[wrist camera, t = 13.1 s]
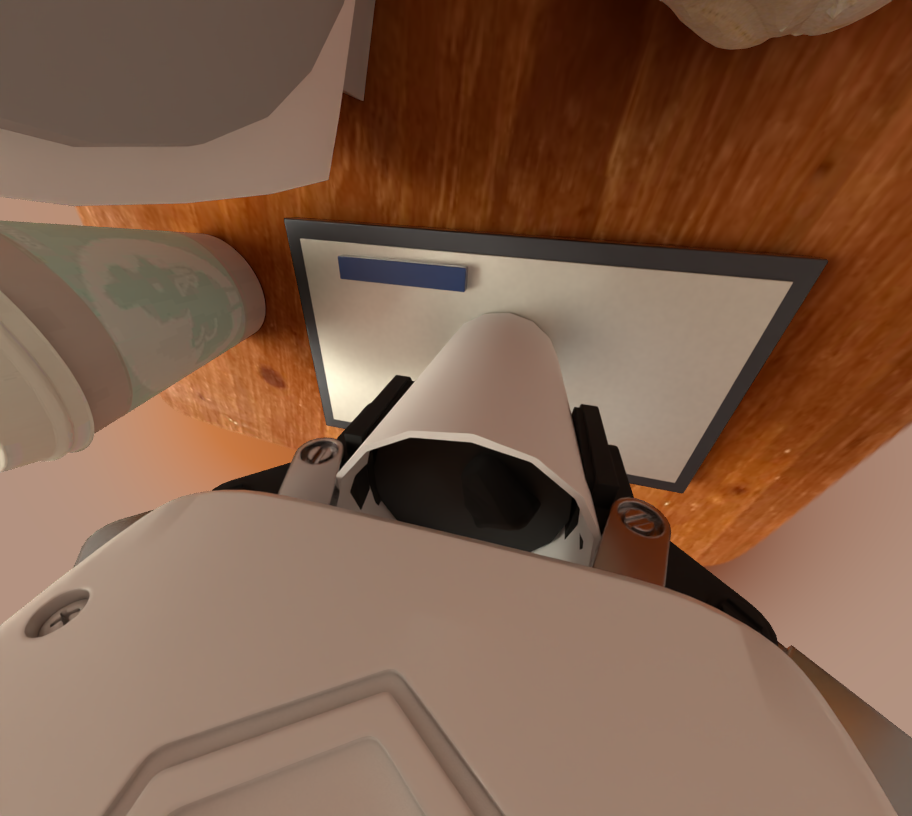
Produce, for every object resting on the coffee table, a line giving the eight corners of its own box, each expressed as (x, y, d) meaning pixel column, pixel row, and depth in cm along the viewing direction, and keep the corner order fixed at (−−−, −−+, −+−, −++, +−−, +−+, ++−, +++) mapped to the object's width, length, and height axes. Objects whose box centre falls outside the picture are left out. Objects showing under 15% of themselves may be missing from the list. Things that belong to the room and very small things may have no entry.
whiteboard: (809, 255, 12) (847, 262, 11) (676, 480, 19) (688, 504, 17) (297, 217, 16) (271, 218, 14) (334, 416, 22) (319, 432, 21)
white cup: (517, 270, 14) (482, 369, 5) (594, 386, 16) (656, 590, 7) (410, 353, 17) (284, 495, 9) (485, 441, 19) (442, 626, 11)
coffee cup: (289, 374, 21) (66, 519, 11) (173, 329, 22) (-144, 433, 12) (286, 234, 16) (-105, 275, 7) (136, 179, 17) (-455, 139, 7)
